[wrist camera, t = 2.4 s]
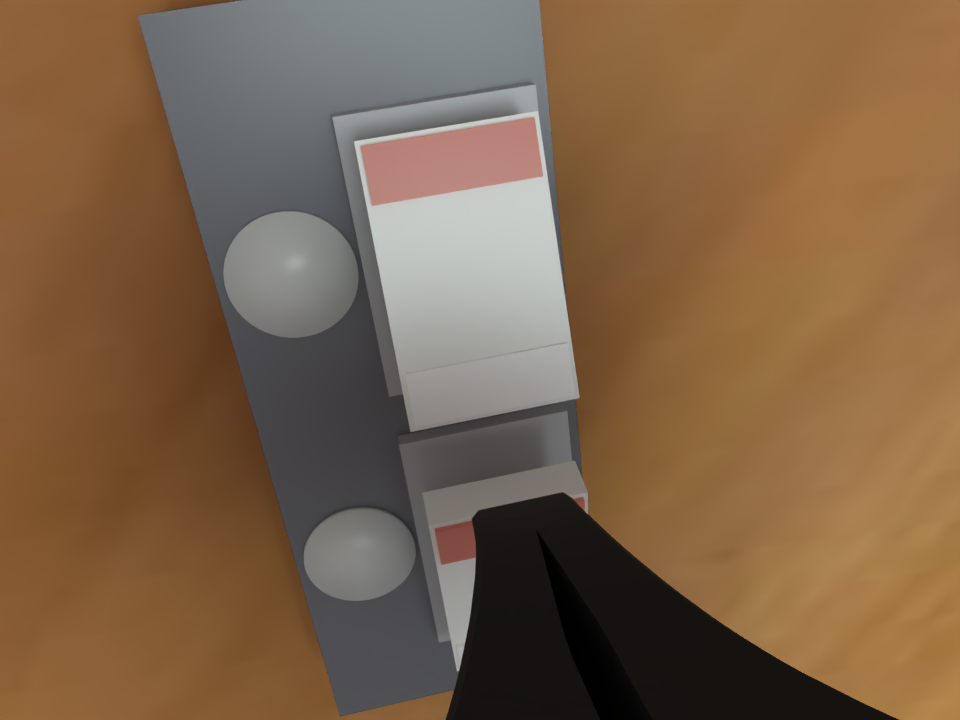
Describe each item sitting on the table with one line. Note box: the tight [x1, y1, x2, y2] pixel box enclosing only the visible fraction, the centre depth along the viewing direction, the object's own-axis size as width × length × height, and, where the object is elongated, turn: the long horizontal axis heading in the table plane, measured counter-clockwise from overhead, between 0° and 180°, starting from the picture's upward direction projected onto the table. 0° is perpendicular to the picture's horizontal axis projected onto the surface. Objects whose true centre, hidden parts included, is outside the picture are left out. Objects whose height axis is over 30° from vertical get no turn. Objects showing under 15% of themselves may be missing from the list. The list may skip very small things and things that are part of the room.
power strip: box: [138, 0, 582, 716], centre depth 19 cm, size 19×7×4 cm, turn 8°
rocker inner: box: [422, 461, 588, 671], centre depth 18 cm, size 5×3×1 cm, turn 8°
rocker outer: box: [354, 111, 580, 432], centre depth 15 cm, size 5×3×1 cm, turn 8°
